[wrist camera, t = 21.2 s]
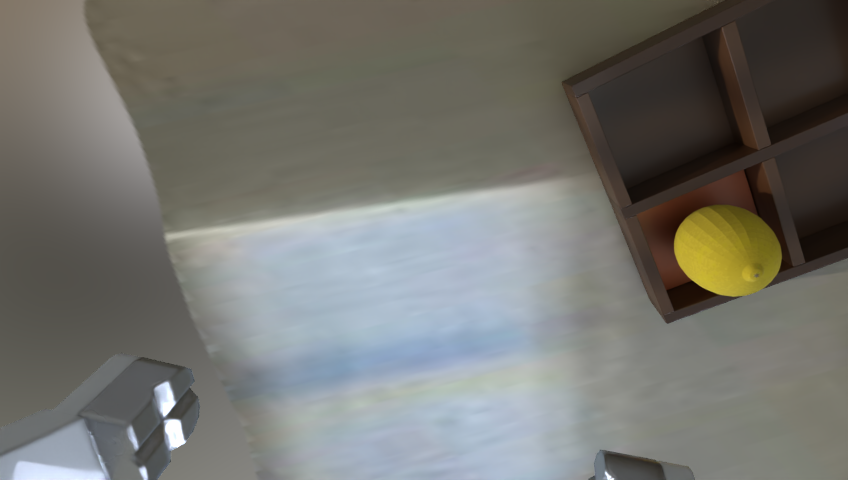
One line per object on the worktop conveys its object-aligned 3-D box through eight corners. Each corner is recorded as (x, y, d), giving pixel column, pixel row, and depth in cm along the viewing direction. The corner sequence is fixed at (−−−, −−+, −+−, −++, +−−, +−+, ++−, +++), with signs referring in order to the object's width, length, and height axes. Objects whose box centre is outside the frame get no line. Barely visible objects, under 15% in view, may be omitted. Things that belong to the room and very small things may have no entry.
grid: (561, 82, 34) (571, 86, 31) (855, -66, 30) (902, -79, 27) (650, 301, 40) (667, 324, 36) (911, 202, 35) (956, 218, 32)
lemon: (644, 250, 37) (688, 302, 30) (679, 181, 35) (736, 217, 28) (714, 272, 37) (776, 328, 30) (753, 204, 35) (829, 246, 28)
